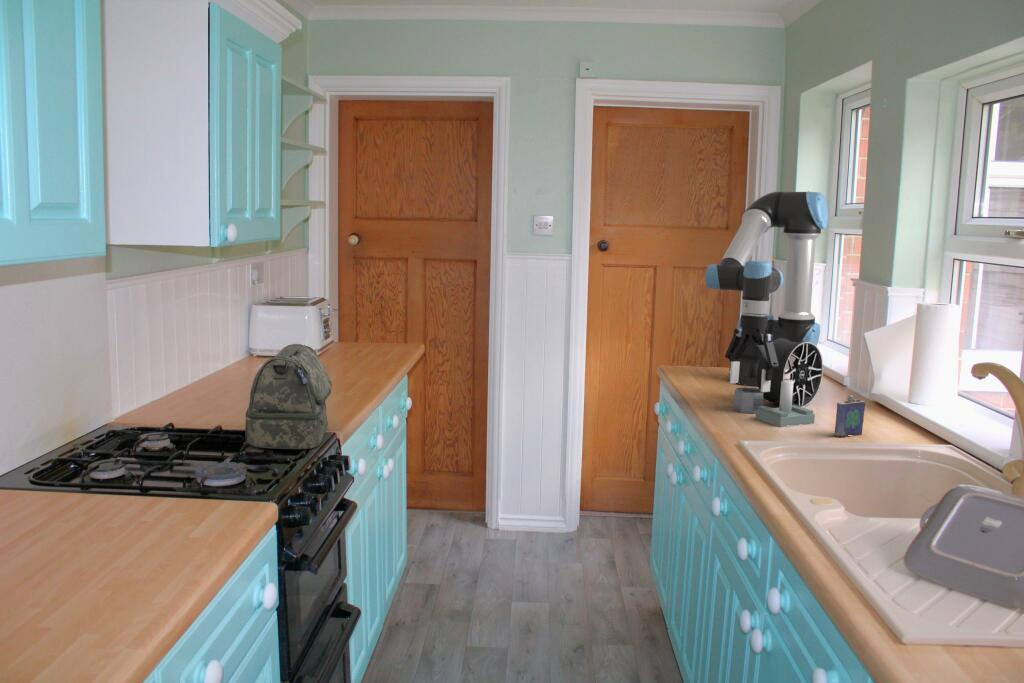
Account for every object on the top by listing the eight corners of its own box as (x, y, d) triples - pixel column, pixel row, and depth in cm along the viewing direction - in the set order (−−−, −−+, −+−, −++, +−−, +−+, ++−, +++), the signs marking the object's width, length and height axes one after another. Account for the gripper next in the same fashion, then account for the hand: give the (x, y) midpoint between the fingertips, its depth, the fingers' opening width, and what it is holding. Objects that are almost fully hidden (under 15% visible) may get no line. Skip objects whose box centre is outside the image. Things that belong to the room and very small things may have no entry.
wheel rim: (780, 411, 247) (785, 344, 244) (754, 405, 254) (759, 339, 251) (820, 404, 259) (825, 339, 256) (794, 398, 266) (799, 335, 263)
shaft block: (788, 415, 242) (791, 377, 241) (814, 423, 234) (817, 384, 232) (755, 418, 237) (758, 380, 236) (780, 426, 228) (783, 386, 227)
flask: (839, 438, 218) (842, 397, 217) (830, 435, 221) (833, 395, 219) (864, 434, 222) (868, 394, 221) (855, 432, 225) (859, 392, 223)
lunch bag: (321, 452, 193) (321, 358, 190) (239, 452, 191) (237, 357, 188) (334, 425, 218) (334, 341, 215) (262, 424, 217) (261, 340, 214)
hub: (749, 406, 253) (750, 386, 252) (768, 412, 246) (769, 392, 245) (728, 408, 250) (729, 388, 249) (746, 414, 242) (747, 393, 241)
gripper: (716, 310, 253) (711, 380, 256) (774, 319, 231) (768, 396, 233) (736, 310, 256) (731, 379, 259) (795, 319, 234) (789, 394, 237)
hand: (749, 387), depth 246 cm, fingers open, 13 cm apart
